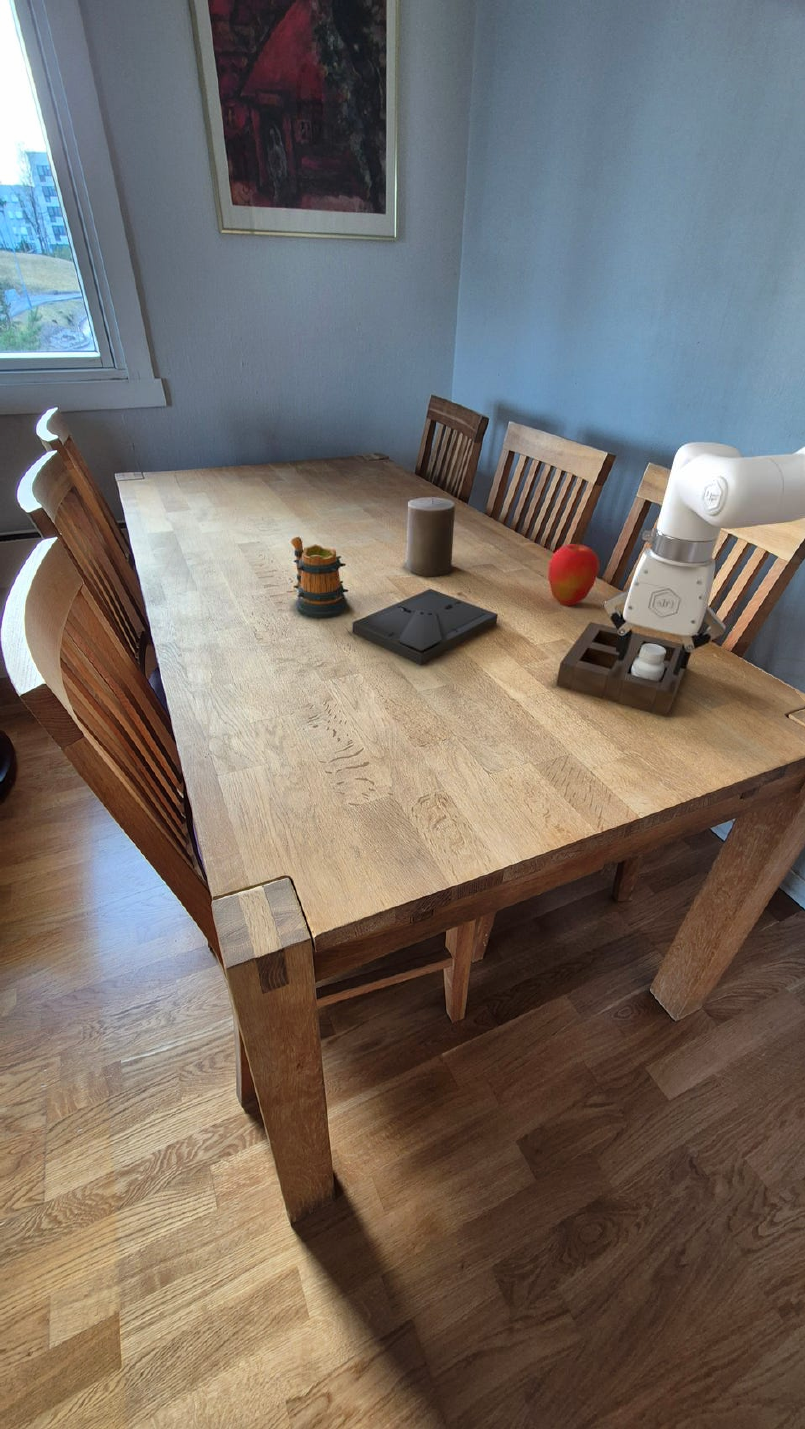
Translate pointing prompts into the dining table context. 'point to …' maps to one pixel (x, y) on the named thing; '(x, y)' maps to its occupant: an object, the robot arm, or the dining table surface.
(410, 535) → the pillar candle
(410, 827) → the dining table surface
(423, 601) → the picture frame
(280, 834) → the dining table surface
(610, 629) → the grid rack
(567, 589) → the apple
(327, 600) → the mug
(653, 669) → the pill bottle
